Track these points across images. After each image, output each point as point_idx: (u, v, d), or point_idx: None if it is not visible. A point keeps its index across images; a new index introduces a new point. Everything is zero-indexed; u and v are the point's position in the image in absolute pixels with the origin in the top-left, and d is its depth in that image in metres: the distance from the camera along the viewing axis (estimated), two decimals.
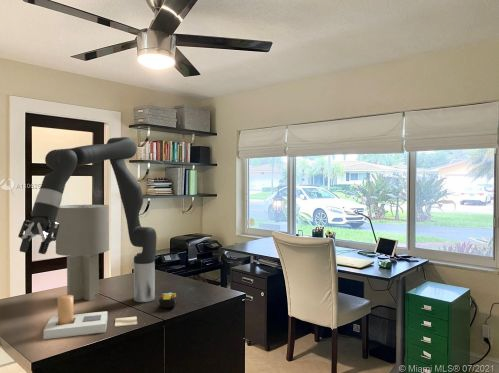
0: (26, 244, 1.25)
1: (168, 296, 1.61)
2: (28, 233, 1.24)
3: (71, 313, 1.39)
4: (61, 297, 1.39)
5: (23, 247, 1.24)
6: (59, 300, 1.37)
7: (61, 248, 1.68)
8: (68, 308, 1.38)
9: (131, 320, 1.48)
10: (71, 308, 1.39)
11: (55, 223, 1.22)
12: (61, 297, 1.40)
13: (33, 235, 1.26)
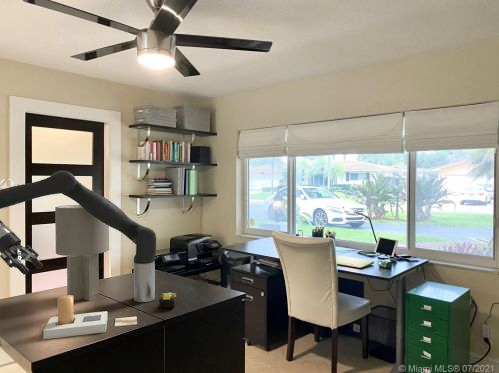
0: (36, 262, 1.44)
1: (168, 296, 1.61)
2: (25, 259, 1.43)
3: (71, 313, 1.39)
4: (61, 297, 1.39)
5: (36, 266, 1.44)
6: (59, 300, 1.37)
7: (61, 248, 1.68)
8: (68, 308, 1.38)
9: (131, 320, 1.48)
10: (71, 308, 1.39)
11: (2, 255, 1.33)
12: (61, 297, 1.40)
13: (29, 255, 1.43)
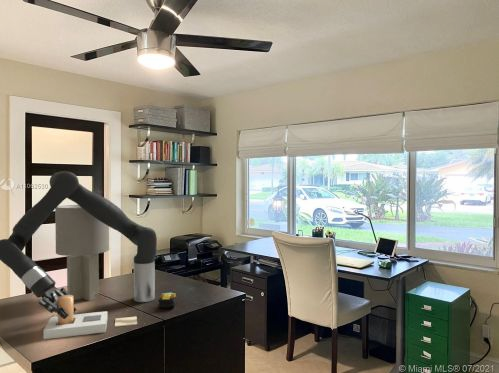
0: None
1: (167, 296, 1.61)
2: None
3: (71, 313, 1.39)
4: (61, 297, 1.39)
5: None
6: (59, 300, 1.37)
7: (61, 248, 1.68)
8: (68, 308, 1.38)
9: (131, 320, 1.48)
10: (71, 308, 1.39)
11: (40, 302, 1.33)
12: (61, 297, 1.40)
13: None
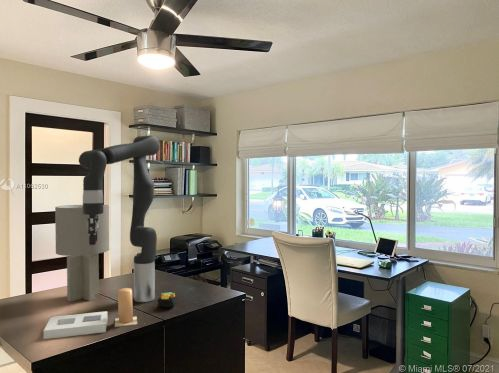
0: None
1: (166, 296, 1.62)
2: None
3: (130, 305, 1.46)
4: (121, 290, 1.46)
5: None
6: (119, 293, 1.44)
7: (61, 248, 1.68)
8: (128, 300, 1.45)
9: None
10: (130, 300, 1.46)
11: (90, 219, 1.43)
12: (121, 289, 1.47)
13: None
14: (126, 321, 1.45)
